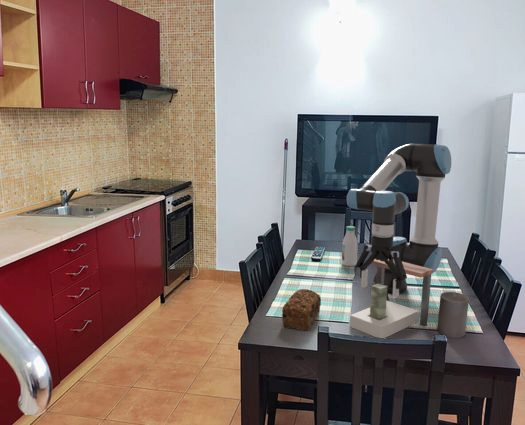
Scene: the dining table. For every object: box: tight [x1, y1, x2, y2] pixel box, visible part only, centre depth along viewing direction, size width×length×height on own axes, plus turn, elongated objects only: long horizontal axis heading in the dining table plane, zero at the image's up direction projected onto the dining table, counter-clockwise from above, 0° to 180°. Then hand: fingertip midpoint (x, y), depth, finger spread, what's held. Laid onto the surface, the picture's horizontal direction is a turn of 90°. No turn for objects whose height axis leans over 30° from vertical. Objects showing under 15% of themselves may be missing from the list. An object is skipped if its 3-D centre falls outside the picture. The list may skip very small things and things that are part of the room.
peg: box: [369, 284, 388, 320], centre depth 186 cm, size 4×4×16 cm
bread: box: [281, 288, 322, 332], centre depth 193 cm, size 19×11×10 cm, turn 159°
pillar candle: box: [436, 291, 470, 339], centre depth 183 cm, size 10×10×15 cm
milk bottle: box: [341, 225, 358, 267], centre depth 264 cm, size 8×8×20 cm
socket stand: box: [349, 259, 433, 339], centre depth 189 cm, size 24×22×22 cm
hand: (379, 291), depth 186 cm, fingers open, 13 cm apart
